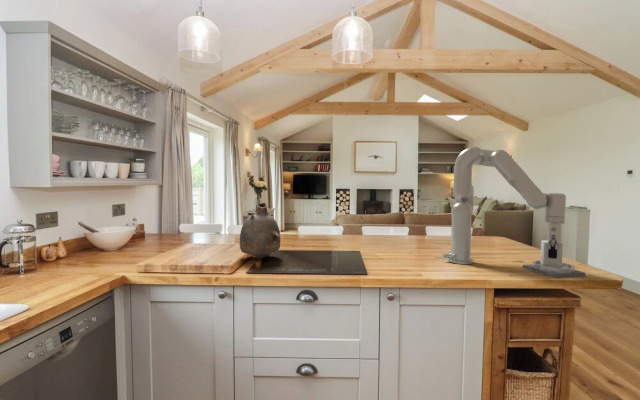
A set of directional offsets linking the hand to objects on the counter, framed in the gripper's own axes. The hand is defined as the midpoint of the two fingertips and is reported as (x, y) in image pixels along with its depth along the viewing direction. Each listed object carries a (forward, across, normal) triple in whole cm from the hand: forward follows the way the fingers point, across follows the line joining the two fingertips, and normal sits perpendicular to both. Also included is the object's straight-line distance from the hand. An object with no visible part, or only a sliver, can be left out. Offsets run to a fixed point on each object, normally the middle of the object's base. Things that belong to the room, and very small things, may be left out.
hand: (552, 256), depth 156 cm
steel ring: (+6, 0, 0) cm, 6 cm away
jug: (+9, -66, +126) cm, 143 cm away
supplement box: (+6, 0, +1) cm, 6 cm away
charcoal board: (+7, 0, 0) cm, 7 cm away
